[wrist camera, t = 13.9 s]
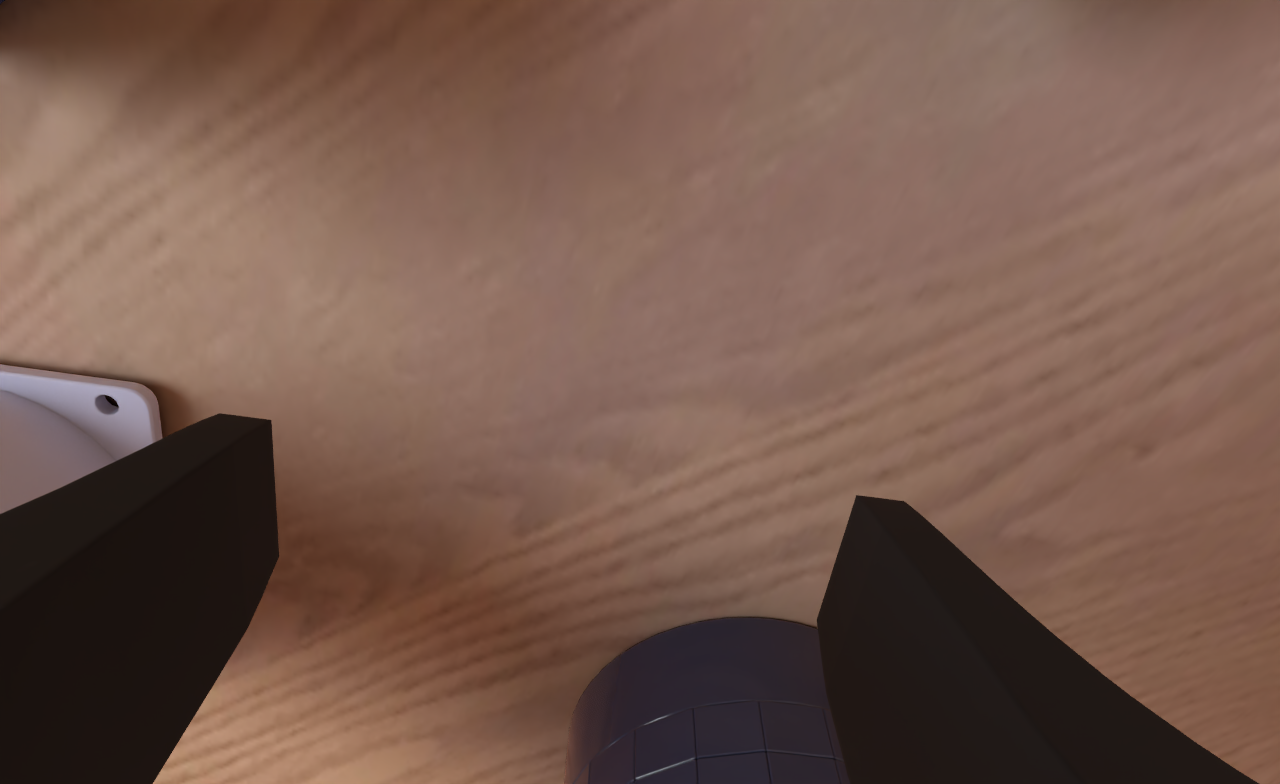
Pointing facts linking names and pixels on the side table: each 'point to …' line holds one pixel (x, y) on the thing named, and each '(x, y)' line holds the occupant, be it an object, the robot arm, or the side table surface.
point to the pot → (709, 710)
